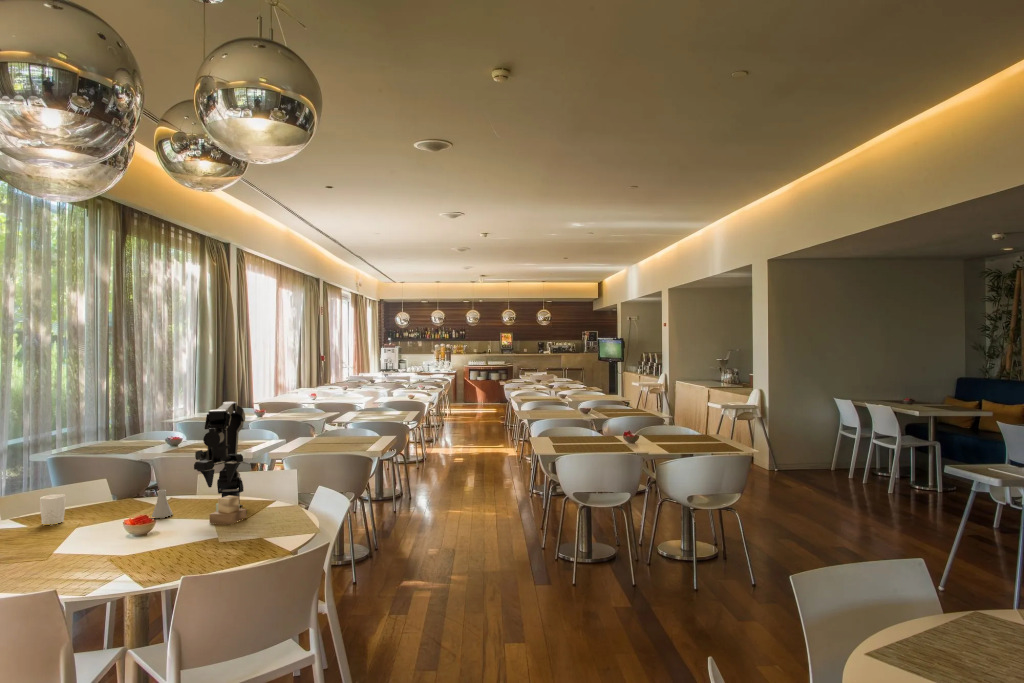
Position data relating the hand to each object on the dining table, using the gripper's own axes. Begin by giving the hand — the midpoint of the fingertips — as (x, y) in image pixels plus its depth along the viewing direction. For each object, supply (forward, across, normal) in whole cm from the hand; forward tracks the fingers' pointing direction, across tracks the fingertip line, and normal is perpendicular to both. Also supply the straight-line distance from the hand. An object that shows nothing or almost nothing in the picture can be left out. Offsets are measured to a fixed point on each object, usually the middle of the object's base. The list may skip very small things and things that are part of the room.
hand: (219, 484), depth 249 cm
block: (+13, -7, -3) cm, 15 cm away
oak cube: (+9, +2, +6) cm, 11 cm away
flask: (+13, +5, -24) cm, 28 cm away
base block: (+13, +2, +6) cm, 14 cm away
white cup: (+13, +25, -55) cm, 62 cm away
